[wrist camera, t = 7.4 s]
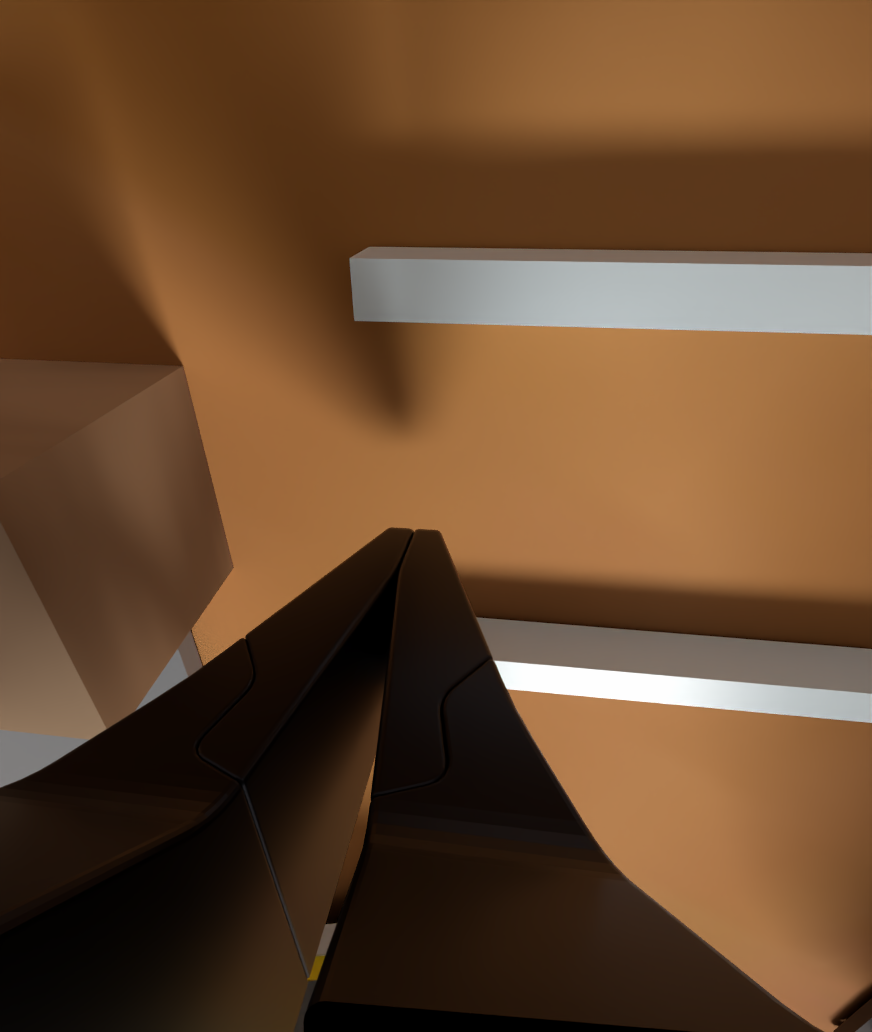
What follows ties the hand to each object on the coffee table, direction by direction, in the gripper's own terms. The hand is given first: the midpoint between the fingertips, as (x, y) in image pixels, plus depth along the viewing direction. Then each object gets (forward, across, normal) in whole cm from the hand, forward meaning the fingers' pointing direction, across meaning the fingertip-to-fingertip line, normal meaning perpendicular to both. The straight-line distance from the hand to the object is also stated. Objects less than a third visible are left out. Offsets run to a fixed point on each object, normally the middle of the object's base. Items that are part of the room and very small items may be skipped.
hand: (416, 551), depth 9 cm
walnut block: (+2, +7, 0) cm, 8 cm away
